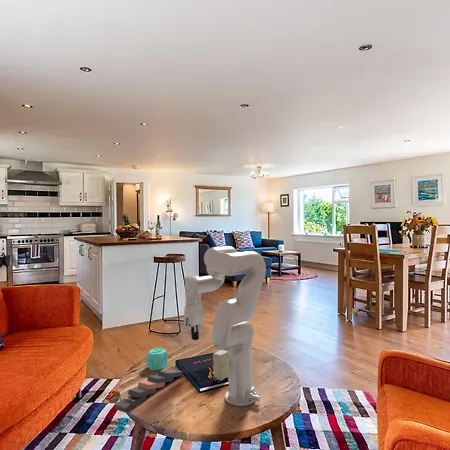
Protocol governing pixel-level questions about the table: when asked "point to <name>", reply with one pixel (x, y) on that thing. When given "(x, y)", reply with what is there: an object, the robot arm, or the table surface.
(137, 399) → the domino
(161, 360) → the decorative dice
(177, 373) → the domino
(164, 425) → the table surface
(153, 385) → the domino
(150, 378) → the domino
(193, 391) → the table surface
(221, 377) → the skincare box
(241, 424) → the table surface
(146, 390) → the domino
